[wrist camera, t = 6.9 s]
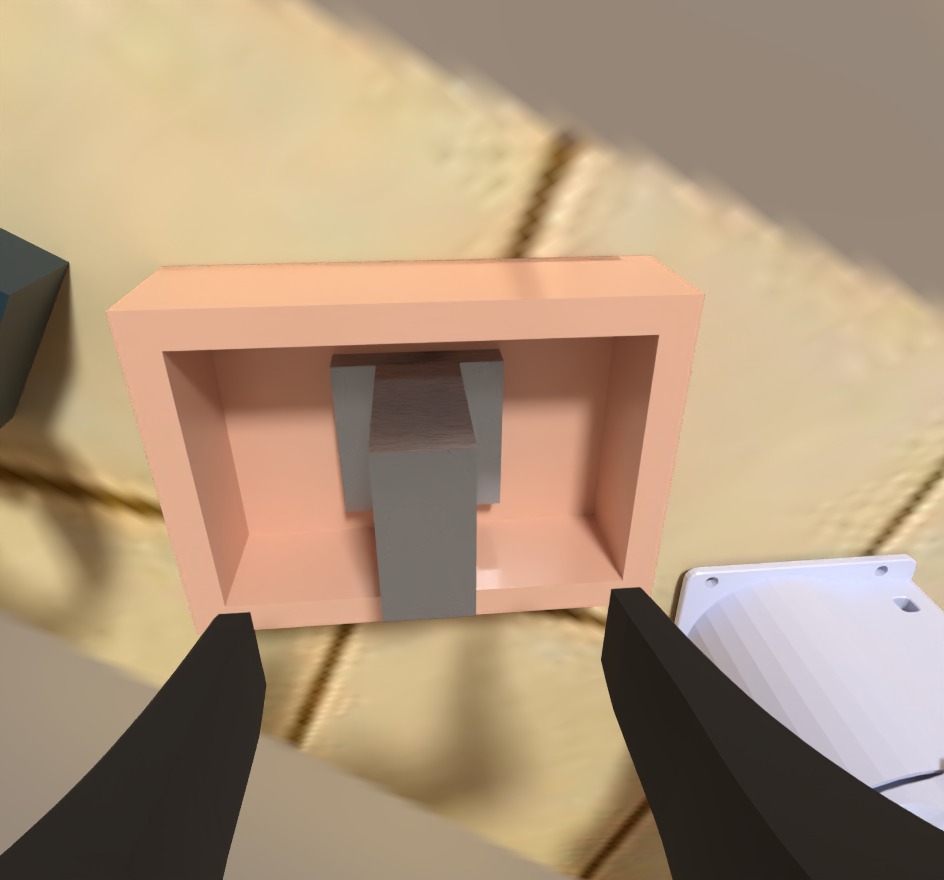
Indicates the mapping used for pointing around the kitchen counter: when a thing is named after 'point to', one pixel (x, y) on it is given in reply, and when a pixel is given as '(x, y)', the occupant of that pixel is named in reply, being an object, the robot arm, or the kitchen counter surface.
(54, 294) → the watch
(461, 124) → the kitchen counter surface
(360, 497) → the grey metal t-piece
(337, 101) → the kitchen counter surface
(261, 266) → the salmon pink open box
